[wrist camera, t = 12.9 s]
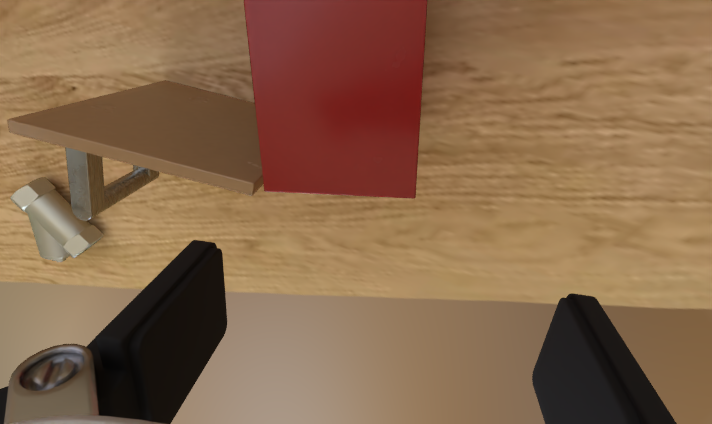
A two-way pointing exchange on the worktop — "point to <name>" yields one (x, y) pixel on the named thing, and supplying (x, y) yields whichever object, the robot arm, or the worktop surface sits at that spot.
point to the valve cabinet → (338, 94)
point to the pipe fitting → (54, 221)
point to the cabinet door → (150, 141)
